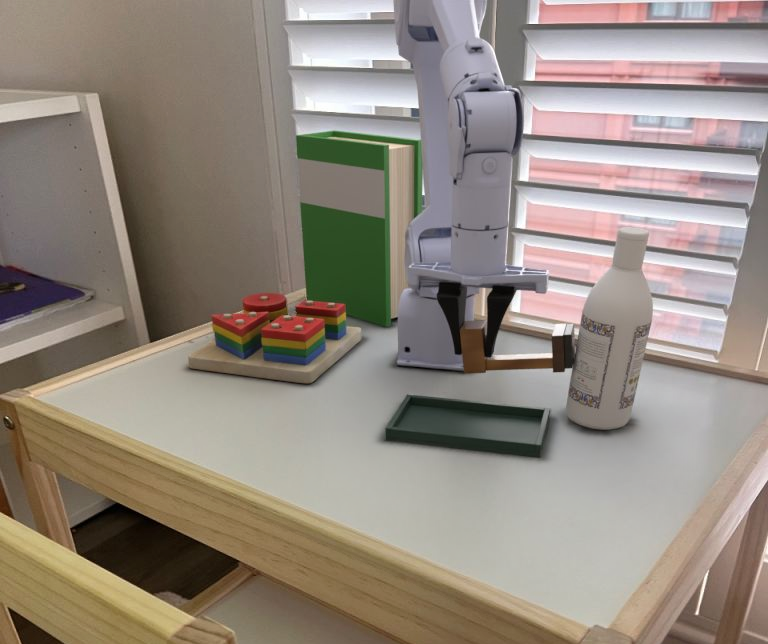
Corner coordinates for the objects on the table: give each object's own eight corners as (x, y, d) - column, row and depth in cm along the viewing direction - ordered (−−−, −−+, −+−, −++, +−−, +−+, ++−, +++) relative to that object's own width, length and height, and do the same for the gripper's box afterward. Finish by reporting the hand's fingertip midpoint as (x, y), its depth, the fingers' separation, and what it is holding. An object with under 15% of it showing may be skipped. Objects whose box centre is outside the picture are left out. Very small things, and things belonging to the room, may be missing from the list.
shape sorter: (310, 385, 98) (307, 337, 95) (187, 369, 103) (180, 322, 100) (363, 338, 112) (361, 295, 108) (252, 326, 117) (247, 284, 114)
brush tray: (385, 440, 85) (385, 428, 84) (407, 405, 92) (406, 394, 92) (539, 457, 81) (541, 445, 80) (549, 419, 88) (550, 408, 88)
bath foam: (620, 405, 91) (659, 223, 80) (636, 432, 85) (680, 240, 75) (559, 402, 91) (590, 220, 80) (571, 430, 85) (606, 237, 74)
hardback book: (421, 315, 120) (422, 139, 108) (386, 326, 116) (383, 145, 103) (341, 292, 131) (334, 130, 118) (306, 302, 126) (295, 135, 114)
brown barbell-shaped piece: (462, 375, 88) (458, 331, 85) (469, 362, 91) (465, 319, 89) (572, 372, 84) (571, 325, 82) (575, 358, 87) (574, 313, 85)
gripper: (400, 230, 80) (401, 360, 87) (548, 236, 76) (536, 371, 83) (417, 215, 85) (416, 338, 92) (555, 221, 82) (543, 348, 89)
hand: (474, 353), depth 88 cm, fingers closed on brown barbell-shaped piece, 3 cm apart
